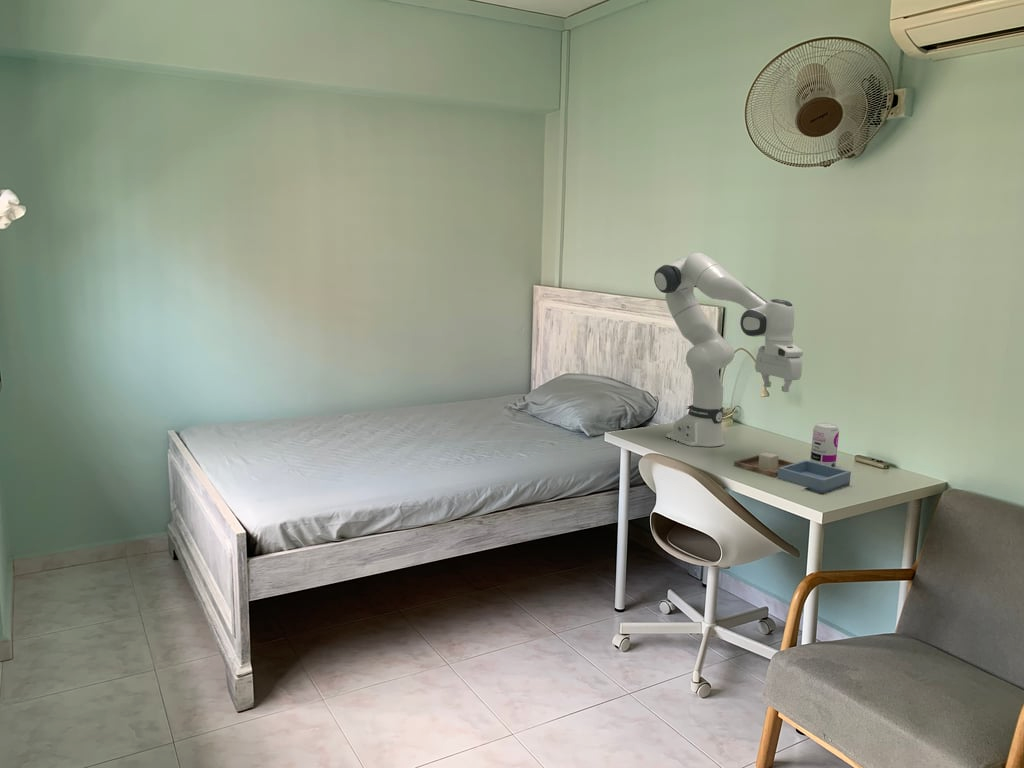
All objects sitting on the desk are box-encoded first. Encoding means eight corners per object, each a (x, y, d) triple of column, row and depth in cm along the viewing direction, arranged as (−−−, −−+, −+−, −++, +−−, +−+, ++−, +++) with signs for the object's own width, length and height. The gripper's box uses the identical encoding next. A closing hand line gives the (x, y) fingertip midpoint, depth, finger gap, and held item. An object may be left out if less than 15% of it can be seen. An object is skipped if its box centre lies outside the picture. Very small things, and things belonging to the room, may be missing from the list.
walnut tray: (733, 468, 271) (734, 461, 271) (761, 461, 281) (761, 454, 281) (774, 480, 259) (775, 473, 259) (802, 472, 269) (802, 465, 268)
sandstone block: (758, 467, 270) (759, 454, 270) (766, 464, 273) (767, 452, 272) (769, 470, 267) (770, 457, 266) (777, 468, 270) (778, 455, 269)
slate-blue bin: (777, 481, 258) (778, 468, 258) (804, 472, 268) (805, 460, 267) (822, 494, 246) (823, 480, 245) (849, 485, 256) (850, 471, 255)
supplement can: (836, 466, 276) (841, 424, 274) (832, 472, 269) (837, 429, 267) (812, 462, 280) (816, 421, 278) (807, 468, 273) (811, 426, 271)
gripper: (751, 345, 274) (749, 384, 276) (790, 352, 255) (787, 395, 257) (767, 344, 276) (764, 383, 278) (806, 352, 257) (803, 394, 259)
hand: (776, 389), depth 268 cm, fingers open, 8 cm apart
